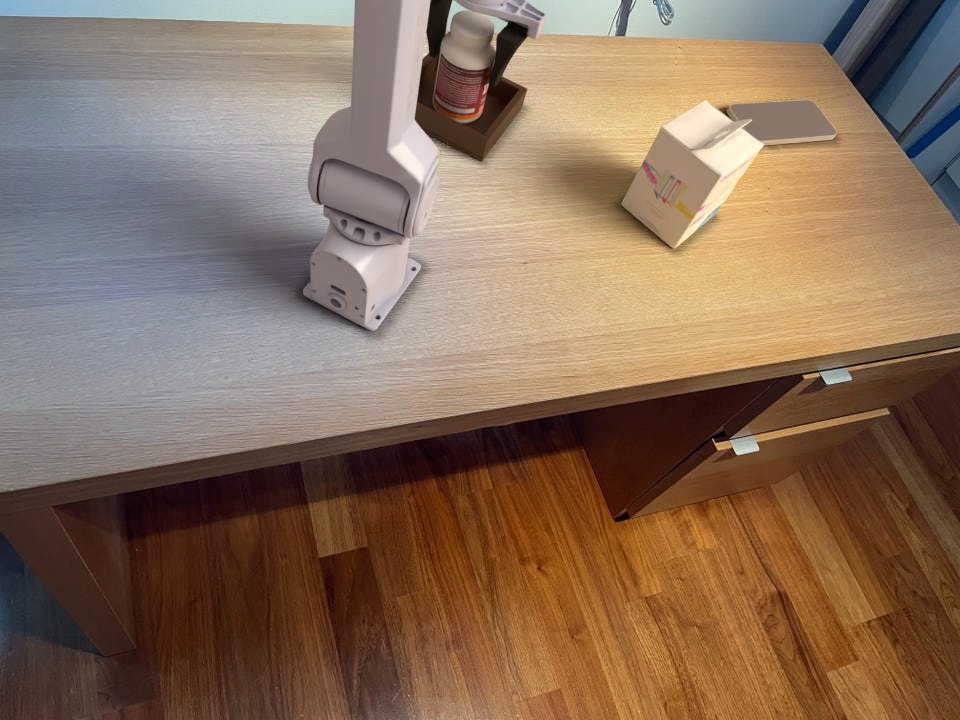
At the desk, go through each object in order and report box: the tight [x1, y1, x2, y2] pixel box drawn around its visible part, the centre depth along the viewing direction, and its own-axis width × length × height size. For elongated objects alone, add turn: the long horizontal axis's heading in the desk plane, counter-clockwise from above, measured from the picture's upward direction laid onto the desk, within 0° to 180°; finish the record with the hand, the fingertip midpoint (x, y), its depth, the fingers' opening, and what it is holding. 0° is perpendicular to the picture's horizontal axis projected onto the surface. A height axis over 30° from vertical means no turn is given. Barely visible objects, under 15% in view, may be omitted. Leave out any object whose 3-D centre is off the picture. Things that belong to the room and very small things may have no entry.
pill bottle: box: [432, 10, 496, 124], centre depth 77 cm, size 6×6×11 cm
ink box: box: [620, 99, 765, 249], centre depth 75 cm, size 9×8×13 cm
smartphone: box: [726, 99, 838, 146], centre depth 93 cm, size 7×1×15 cm
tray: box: [415, 52, 528, 162], centre depth 81 cm, size 12×13×3 cm
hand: (465, 67), depth 77 cm, fingers open, 7 cm apart
